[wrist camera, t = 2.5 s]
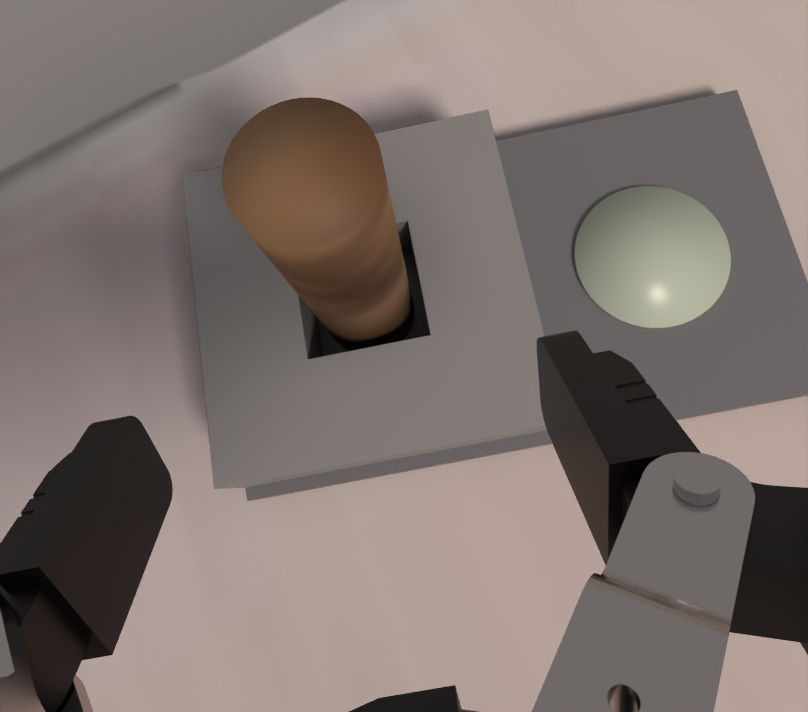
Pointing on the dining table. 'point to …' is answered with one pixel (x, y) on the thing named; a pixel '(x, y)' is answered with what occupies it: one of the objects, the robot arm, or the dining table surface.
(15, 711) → the robot arm
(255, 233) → the walnut plug
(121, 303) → the dining table surface
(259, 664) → the dining table surface
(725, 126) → the socket board
